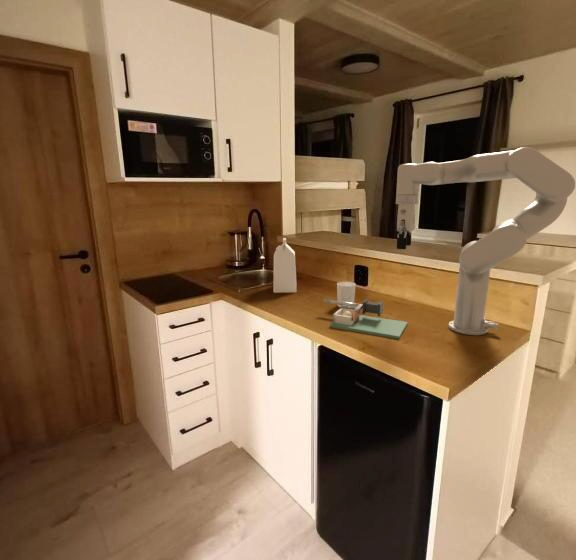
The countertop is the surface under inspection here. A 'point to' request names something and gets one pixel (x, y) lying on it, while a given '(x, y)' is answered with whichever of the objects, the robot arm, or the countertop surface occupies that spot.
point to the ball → (347, 313)
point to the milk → (284, 269)
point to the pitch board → (374, 326)
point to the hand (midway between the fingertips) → (403, 247)
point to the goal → (341, 318)
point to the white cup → (345, 292)
